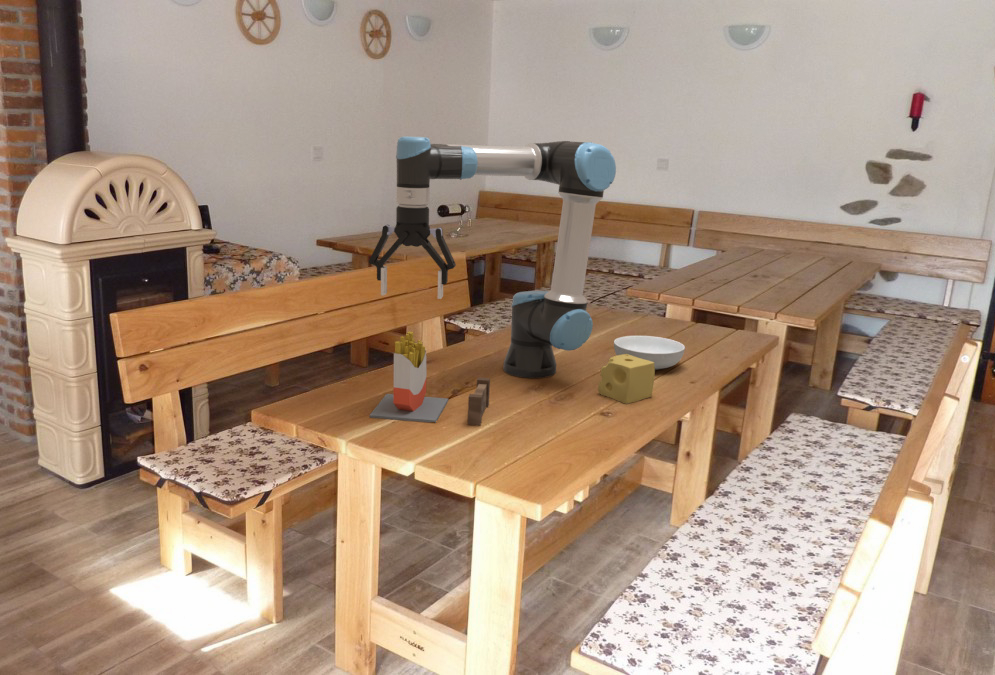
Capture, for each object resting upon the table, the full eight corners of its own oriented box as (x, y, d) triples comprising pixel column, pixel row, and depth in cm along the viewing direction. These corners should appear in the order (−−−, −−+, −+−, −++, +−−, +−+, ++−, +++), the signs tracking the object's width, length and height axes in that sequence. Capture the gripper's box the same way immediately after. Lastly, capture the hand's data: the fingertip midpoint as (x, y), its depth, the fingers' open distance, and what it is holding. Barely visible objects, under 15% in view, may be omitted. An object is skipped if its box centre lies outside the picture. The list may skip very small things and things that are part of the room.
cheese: (597, 394, 220) (600, 358, 218) (624, 387, 227) (627, 352, 224) (627, 405, 213) (630, 368, 210) (654, 397, 219) (657, 361, 217)
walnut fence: (477, 403, 209) (478, 377, 207) (488, 404, 209) (490, 378, 207) (467, 424, 195) (468, 396, 193) (480, 425, 194) (481, 397, 193)
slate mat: (386, 395, 212) (386, 393, 212) (448, 400, 210) (448, 398, 210) (369, 417, 197) (369, 415, 197) (435, 422, 195) (435, 420, 195)
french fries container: (427, 401, 208) (428, 331, 203) (410, 415, 198) (411, 342, 193) (410, 398, 209) (411, 329, 204) (393, 412, 199) (393, 340, 194)
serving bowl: (689, 362, 253) (691, 340, 251) (673, 380, 234) (675, 357, 233) (623, 352, 261) (625, 331, 259) (602, 369, 243) (604, 346, 241)
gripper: (355, 204, 189) (356, 295, 194) (463, 210, 186) (461, 302, 191) (364, 201, 196) (365, 289, 201) (468, 206, 193) (466, 295, 199)
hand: (412, 296), depth 196 cm, fingers open, 13 cm apart
